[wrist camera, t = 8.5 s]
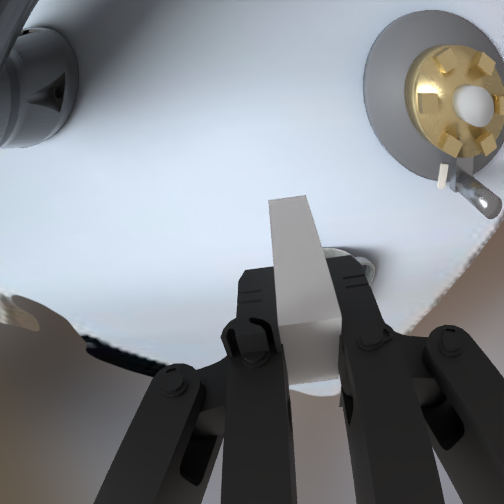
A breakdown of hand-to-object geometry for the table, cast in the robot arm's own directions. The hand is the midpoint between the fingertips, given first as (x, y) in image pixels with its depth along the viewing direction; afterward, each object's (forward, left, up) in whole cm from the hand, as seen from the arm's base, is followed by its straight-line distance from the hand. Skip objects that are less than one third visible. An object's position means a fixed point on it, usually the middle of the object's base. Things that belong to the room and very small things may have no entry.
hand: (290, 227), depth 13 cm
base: (+4, +19, -22) cm, 29 cm away
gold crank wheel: (+6, +19, -20) cm, 28 cm away
